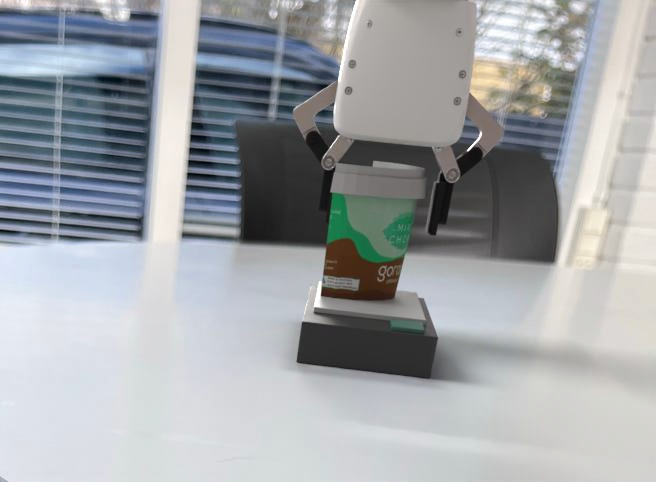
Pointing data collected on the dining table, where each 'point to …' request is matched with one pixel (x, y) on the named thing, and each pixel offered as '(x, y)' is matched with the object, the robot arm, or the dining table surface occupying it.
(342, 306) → the scale
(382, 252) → the food container
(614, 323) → the dining table surface
